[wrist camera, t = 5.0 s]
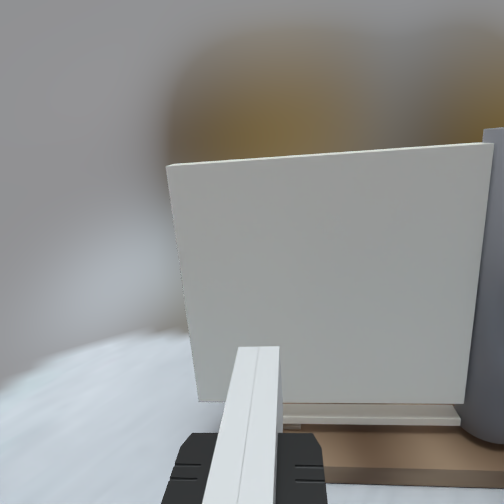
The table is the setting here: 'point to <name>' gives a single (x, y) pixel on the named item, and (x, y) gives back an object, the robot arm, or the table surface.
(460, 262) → the white panel stand
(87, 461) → the table surface
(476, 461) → the board
